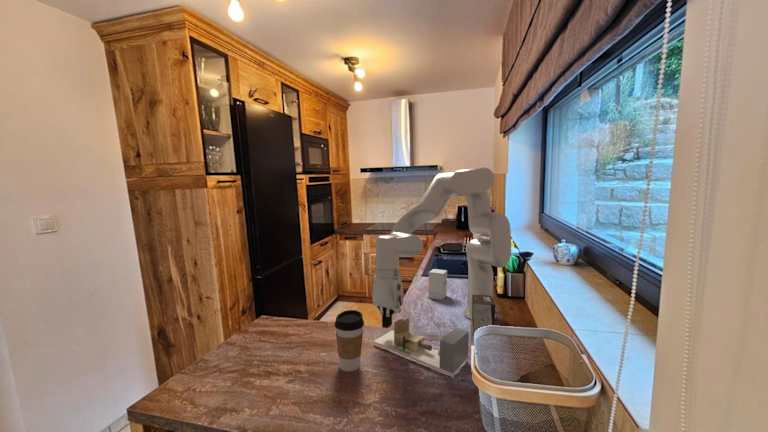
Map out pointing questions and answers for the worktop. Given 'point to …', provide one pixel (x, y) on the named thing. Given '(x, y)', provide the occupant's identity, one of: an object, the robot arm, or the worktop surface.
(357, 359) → the coffee cup
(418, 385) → the worktop surface
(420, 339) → the beige stepped block
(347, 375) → the worktop surface
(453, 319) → the worktop surface
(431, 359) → the beige vise
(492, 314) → the coffee box
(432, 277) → the supplement box
